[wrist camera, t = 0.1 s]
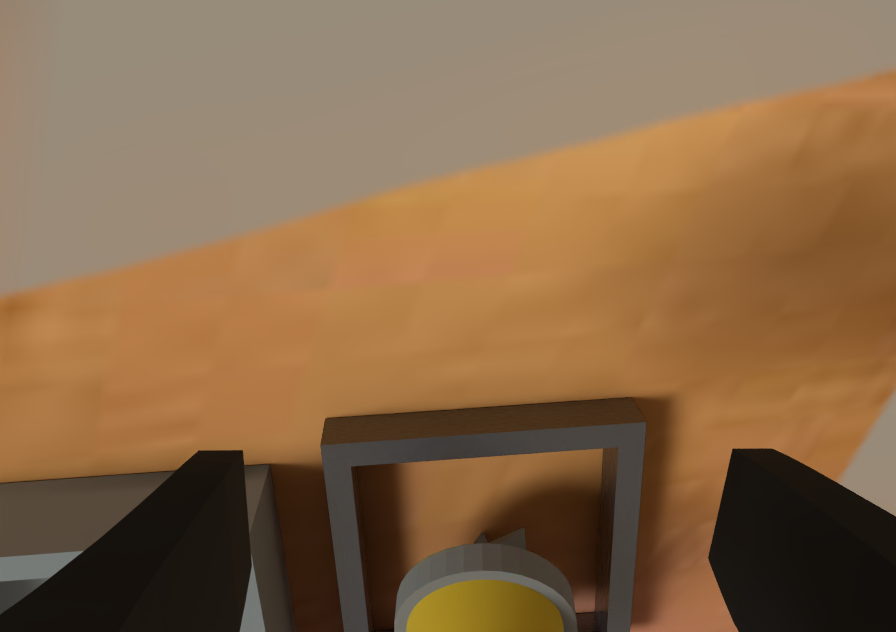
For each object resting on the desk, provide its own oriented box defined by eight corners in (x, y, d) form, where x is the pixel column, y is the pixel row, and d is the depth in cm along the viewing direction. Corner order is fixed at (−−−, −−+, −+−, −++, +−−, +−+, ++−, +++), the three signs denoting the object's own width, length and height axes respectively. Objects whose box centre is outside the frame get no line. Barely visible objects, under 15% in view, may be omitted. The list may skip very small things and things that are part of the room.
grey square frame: (615, 627, 26) (627, 661, 25) (353, 649, 25) (350, 685, 24) (630, 397, 22) (646, 422, 21) (325, 418, 22) (320, 445, 20)
